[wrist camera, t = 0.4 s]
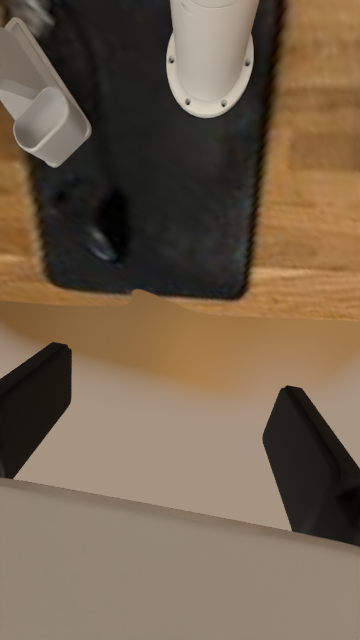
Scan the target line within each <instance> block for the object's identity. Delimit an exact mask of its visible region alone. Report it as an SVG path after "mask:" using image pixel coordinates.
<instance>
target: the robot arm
mask: <svg viewBox="0 0 360 640" xmlns="http://www.w3.org/2000/svg"><path fill="white" fill-rule="evenodd" d="M170 4H171V13H172V23H173V33H172V35H171V38H170V41H169V45H168V50H167V75H168V80H169V85H170V88H171V91H172V93H173V95H174V97H175V99H176V100H177V102H178V103H179V104H180V106H181V107H182V108H183V109H184V110H186V111H187V112H188V113H190V114H192V115H194V116H197V117H201V118H213V117H216V116H219V115H221V114H223V113H225V112H227V111H228V110H229V109H230V108H232V107H233V106H234V105H235V104H236V102H237V101H238V100H239V99H240V97H241V96H242V94H243V92H244V91H245V89H246V86H247V84H248V81H249V78H250V75H251V72H252V67H253V59H254V48H253V40H252V36H251V30H252V26H253V23H254V19H255V15H256V11H257V7H258V4H259V0H170ZM171 62H173V63H171ZM245 65H247V66H245ZM187 103H189V104H190V105H187ZM222 105H225V107H222ZM71 355H72V351H71V349H69V348H68V346H67V345H66V344H61V343H55V342H53V343H51V344H49V345H48V346H46V347H45V348H44V349H42V350H41V351H39V352H38V353H36V354H35V355H34V356H33V357H31V358H29V359H28V360H27V361H25V362H24V363H22V364H21V365H20V366H18V367H17V368H15V369H14V370H12V371H11V372H10V373H8V374H7V375H5V376H4V377H3V378H1V379H0V640H360V468H359V467H358V466H357V464H356V463H355V461H354V460H353V459H352V457H351V456H350V454H349V453H348V452H347V450H346V449H345V448H344V446H343V445H342V443H341V442H340V441H339V439H338V438H337V436H336V435H335V434H334V432H333V431H332V430H331V428H330V427H329V425H328V424H327V423H326V421H325V420H324V419H323V417H322V416H321V414H320V413H319V412H318V410H317V409H316V407H315V406H314V405H313V403H312V402H311V400H310V399H309V398H308V396H307V395H306V393H305V392H304V391H303V389H302V388H298V387H293V386H288V385H287V386H286V387H285V388H281V390H280V392H279V394H278V397H277V399H276V402H275V405H274V407H273V410H272V412H271V415H270V418H269V420H268V422H267V425H266V428H265V430H264V433H263V444H264V447H265V450H266V453H267V456H268V459H269V462H270V465H271V468H272V471H273V474H274V477H275V480H276V483H277V486H278V489H279V492H280V495H281V498H282V501H283V504H284V507H285V510H286V513H287V516H288V519H289V522H290V525H291V528H292V531H293V532H292V531H287V530H282V529H277V528H272V527H266V526H261V525H256V524H251V523H246V522H241V521H236V520H231V519H226V518H220V517H215V516H210V515H205V514H200V513H194V512H189V511H183V510H178V509H173V508H168V507H163V506H157V505H152V504H147V503H141V502H135V501H131V500H125V499H120V498H114V497H109V496H103V495H98V494H93V493H87V492H81V491H76V490H70V489H65V488H60V487H54V486H49V485H42V484H37V483H32V482H26V481H19V480H14V479H13V478H14V477H15V476H16V474H17V473H18V472H19V470H20V469H21V468H22V466H23V465H24V464H25V462H26V461H27V460H28V459H29V457H30V456H31V455H32V453H33V452H34V451H35V449H36V448H37V447H38V446H39V444H40V443H41V442H42V440H43V439H44V438H45V436H46V435H47V434H48V432H49V431H50V430H51V429H52V427H53V426H54V424H55V423H56V422H57V421H58V419H59V418H60V417H61V416H62V414H63V413H64V412H65V410H66V409H67V408H68V406H69V404H70V402H71V372H72V371H71V370H72V368H71V366H72V365H71V364H72V359H71V358H72V356H71Z"/></svg>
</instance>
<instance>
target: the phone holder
mask: <svg viewBox="0 0 360 640" xmlns="http://www.w3.org/2000/svg"><path fill="white" fill-rule="evenodd" d="M0 100H1V102H2V103H3V104H4V106H5V107H6V109H7V110H8V111H9V113H10V114H11V115H12V117H13V118H14V119H15V122H14V126H13V132H14V136H15V139H16V141H17V143H18V144H19V145H20V147H22V148H23V149H24V150H26V151H28V152H29V153H31V154H33V155H35V156H37V157H39V158H41V159H42V160H44V161H45V162H46V163H47V164H48V165H50V166H52V167H58V166H60V165H61V164H62V163H63V162H64V161H65V160H66V159H67V158H68V157H69V156H70V155H71V154H72V153H73V152H74V151H75V150H76V149H77V148H78V147H79V146H80V145H81V144H82V143H83V142H84V141H86V140H87V139H88V138H89V137H90V135H91V132H92V127H91V124H90V122H89V121H88V119H87V118H86V116H85V115H84V113H83V112H82V110H81V109H80V107H79V106H78V104H77V103H76V101H75V99H74V98H73V96H72V95H71V93H70V92H69V90H68V89H67V87H66V86H65V84H64V83H63V81H62V80H61V78H60V76H59V75H58V73H57V72H56V70H55V69H54V67H53V66H52V64H51V63H50V61H49V60H48V58H47V57H46V55H45V53H44V52H43V50H42V49H41V47H40V46H39V44H38V43H37V41H36V40H35V38H34V37H33V35H32V34H31V32H30V30H29V29H28V27H27V26H26V25H25V23H24V22H23V21H22V20H21V19H20V18H17V17H15V18H12V19H11V20H10V21H9V23H8V24H7V25H6V26H5V28H4V29H3V28H1V27H0Z"/></svg>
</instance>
